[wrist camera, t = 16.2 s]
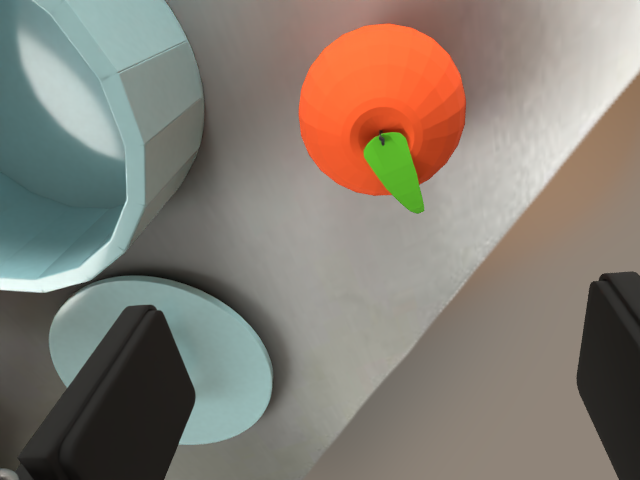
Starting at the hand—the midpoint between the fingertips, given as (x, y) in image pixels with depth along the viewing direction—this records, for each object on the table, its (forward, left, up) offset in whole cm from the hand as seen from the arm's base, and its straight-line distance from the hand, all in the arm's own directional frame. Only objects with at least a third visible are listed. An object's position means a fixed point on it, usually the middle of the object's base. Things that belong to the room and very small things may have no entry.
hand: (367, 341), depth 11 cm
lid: (-16, -15, -15) cm, 27 cm away
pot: (-15, +4, -16) cm, 22 cm away
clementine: (+1, +1, -16) cm, 16 cm away
